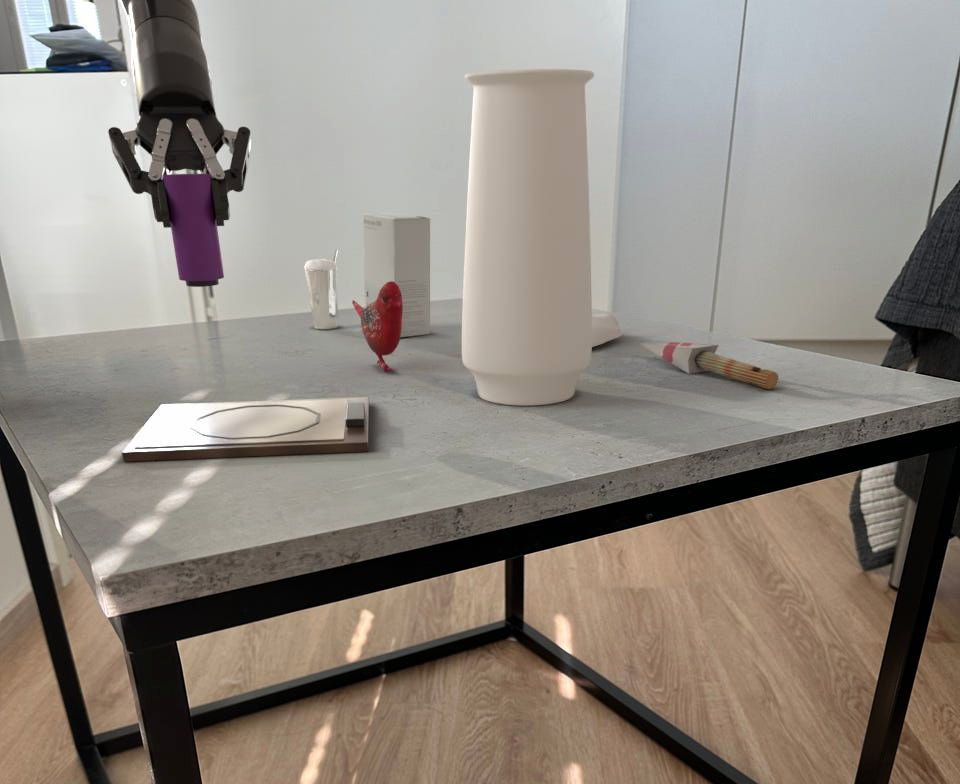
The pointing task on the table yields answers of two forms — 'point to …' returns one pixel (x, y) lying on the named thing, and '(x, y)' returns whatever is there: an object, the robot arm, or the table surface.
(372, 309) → the decorative bird figurine
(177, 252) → the dot marker
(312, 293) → the milkshake
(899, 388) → the table surface
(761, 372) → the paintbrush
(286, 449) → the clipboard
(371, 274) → the cosmetic box
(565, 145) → the vase
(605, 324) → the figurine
